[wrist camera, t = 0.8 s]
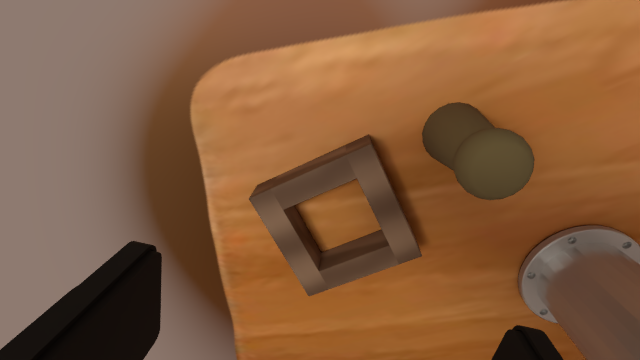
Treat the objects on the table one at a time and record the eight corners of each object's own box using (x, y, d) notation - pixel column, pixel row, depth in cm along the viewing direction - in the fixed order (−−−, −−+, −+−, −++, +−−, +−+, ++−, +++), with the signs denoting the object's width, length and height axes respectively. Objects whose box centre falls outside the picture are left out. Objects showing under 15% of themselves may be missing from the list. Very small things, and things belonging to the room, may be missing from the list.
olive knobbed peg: (440, 173, 34) (480, 227, 24) (410, 125, 33) (440, 161, 23) (496, 141, 33) (565, 184, 23) (468, 89, 31) (528, 110, 21)
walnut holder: (415, 237, 37) (422, 256, 34) (311, 276, 40) (308, 296, 37) (368, 134, 33) (371, 143, 30) (257, 185, 36) (248, 198, 33)
